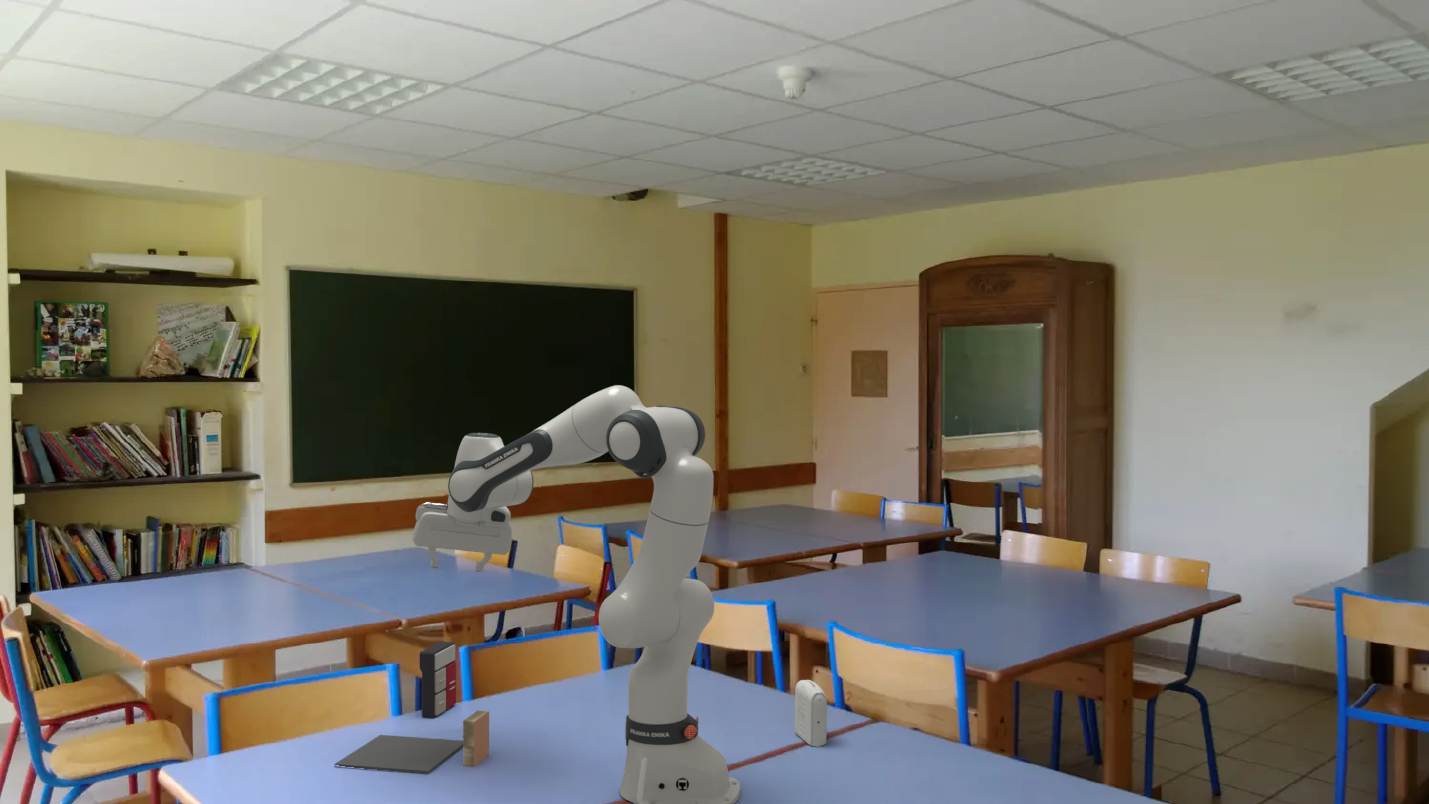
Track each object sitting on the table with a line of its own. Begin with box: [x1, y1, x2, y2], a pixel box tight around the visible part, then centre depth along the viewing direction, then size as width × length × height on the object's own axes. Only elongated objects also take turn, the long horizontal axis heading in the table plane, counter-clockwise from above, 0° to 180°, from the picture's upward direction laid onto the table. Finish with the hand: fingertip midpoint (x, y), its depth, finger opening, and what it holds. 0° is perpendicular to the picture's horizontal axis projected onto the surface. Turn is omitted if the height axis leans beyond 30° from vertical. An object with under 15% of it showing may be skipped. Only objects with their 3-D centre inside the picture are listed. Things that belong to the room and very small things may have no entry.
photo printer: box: [794, 679, 828, 747], centre depth 225 cm, size 10×4×12 cm, turn 17°
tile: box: [462, 710, 490, 768], centre depth 212 cm, size 2×7×9 cm, turn 169°
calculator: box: [419, 641, 457, 719], centre depth 245 cm, size 11×4×15 cm, turn 168°
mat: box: [334, 734, 463, 775], centre depth 215 cm, size 20×18×1 cm
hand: (456, 569), depth 222 cm, fingers open, 8 cm apart
